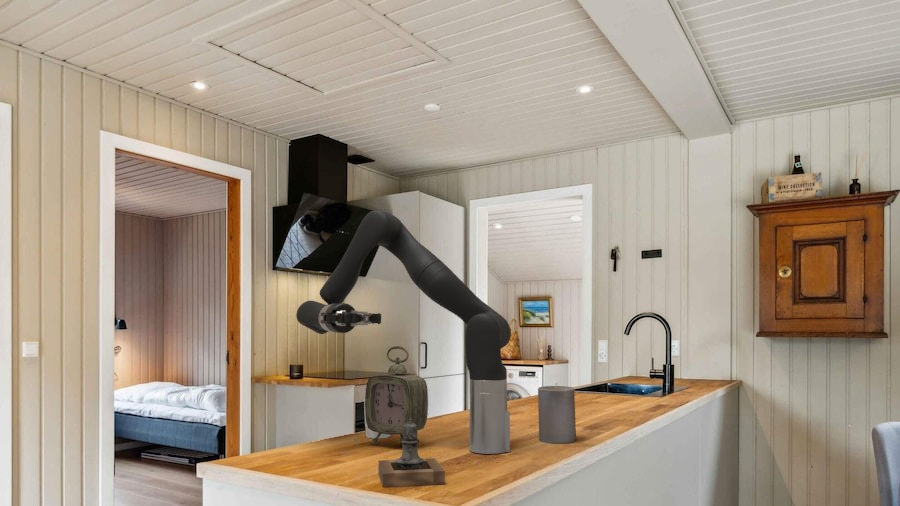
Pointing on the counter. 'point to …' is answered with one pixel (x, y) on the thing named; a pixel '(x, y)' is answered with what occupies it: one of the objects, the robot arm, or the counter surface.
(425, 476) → the socket block
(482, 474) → the counter surface
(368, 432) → the white curved pieces
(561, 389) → the pillar candle
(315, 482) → the counter surface
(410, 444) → the chess piece
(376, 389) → the tabletop clock
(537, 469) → the counter surface
